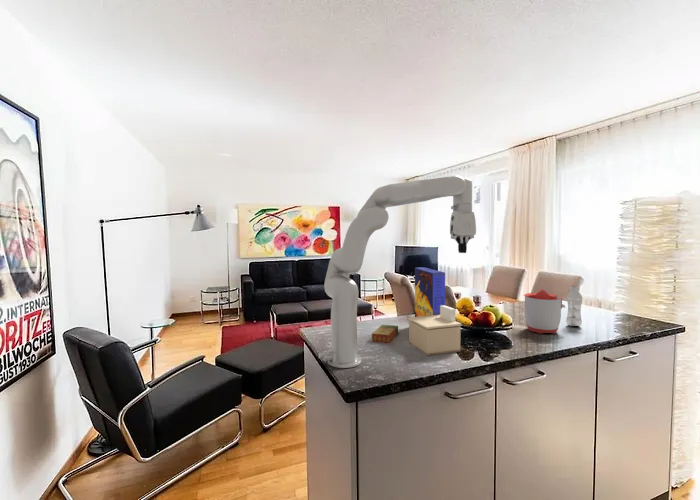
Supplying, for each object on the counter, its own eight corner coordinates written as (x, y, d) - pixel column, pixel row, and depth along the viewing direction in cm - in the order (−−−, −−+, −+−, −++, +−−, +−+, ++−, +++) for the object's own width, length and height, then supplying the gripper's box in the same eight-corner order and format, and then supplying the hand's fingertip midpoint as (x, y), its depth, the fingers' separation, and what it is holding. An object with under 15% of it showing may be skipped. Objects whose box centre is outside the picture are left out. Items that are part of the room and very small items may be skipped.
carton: (371, 342, 149) (371, 333, 149) (381, 332, 164) (381, 323, 164) (389, 344, 146) (389, 334, 146) (398, 334, 161) (398, 325, 161)
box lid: (426, 329, 130) (426, 314, 130) (408, 319, 145) (408, 306, 145) (461, 325, 135) (461, 311, 135) (439, 316, 150) (440, 303, 150)
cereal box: (414, 326, 173) (414, 267, 171) (426, 325, 174) (426, 267, 172) (432, 339, 151) (432, 272, 150) (444, 338, 152) (445, 271, 151)
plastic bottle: (562, 325, 171) (563, 286, 170) (572, 324, 173) (573, 285, 172) (574, 329, 165) (575, 288, 164) (585, 327, 167) (586, 287, 166)
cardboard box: (427, 355, 131) (427, 330, 131) (409, 343, 146) (409, 320, 145) (460, 351, 136) (460, 326, 135) (439, 340, 150) (439, 317, 150)
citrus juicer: (571, 336, 153) (572, 292, 152) (530, 335, 156) (531, 292, 155) (556, 327, 168) (557, 287, 167) (519, 326, 171) (519, 286, 170)
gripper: (452, 208, 136) (452, 253, 137) (483, 208, 140) (483, 252, 141) (441, 209, 143) (441, 252, 144) (471, 209, 148) (471, 251, 149)
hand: (462, 252), depth 143 cm, fingers closed
